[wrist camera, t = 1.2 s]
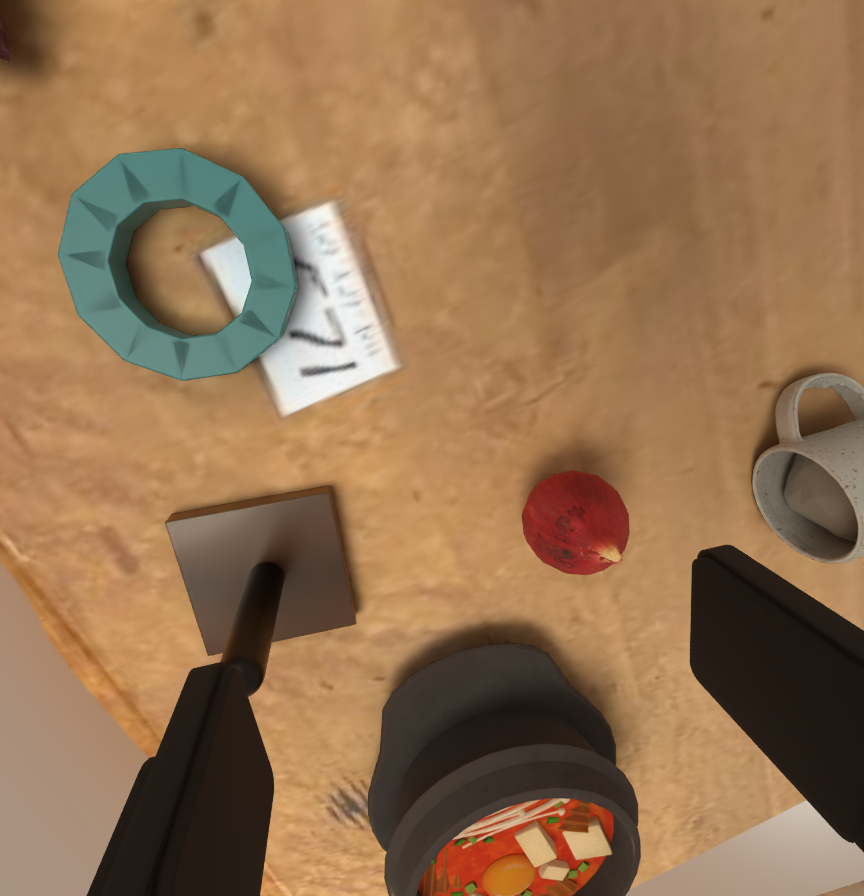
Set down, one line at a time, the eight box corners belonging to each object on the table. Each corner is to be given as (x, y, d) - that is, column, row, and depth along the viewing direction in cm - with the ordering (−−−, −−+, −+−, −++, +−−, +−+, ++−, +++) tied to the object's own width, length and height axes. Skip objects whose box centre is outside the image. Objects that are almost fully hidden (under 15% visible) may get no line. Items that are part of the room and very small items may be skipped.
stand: (171, 513, 29) (85, 623, 19) (329, 485, 30) (324, 576, 20) (212, 643, 32) (155, 796, 22) (356, 613, 33) (362, 746, 23)
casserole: (318, 676, 33) (312, 794, 26) (579, 591, 35) (649, 677, 27) (413, 909, 42) (430, 1054, 34) (621, 831, 43) (684, 952, 35)
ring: (52, 172, 23) (26, 162, 21) (272, 151, 24) (266, 139, 23) (120, 385, 26) (103, 392, 24) (313, 357, 28) (311, 361, 26)
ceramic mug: (855, 494, 37) (982, 541, 29) (754, 531, 36) (858, 589, 29) (851, 353, 33) (992, 367, 26) (739, 392, 33) (853, 417, 26)
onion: (512, 547, 33) (562, 621, 26) (500, 466, 31) (551, 520, 24) (595, 526, 34) (667, 593, 26) (588, 446, 32) (664, 492, 24)
